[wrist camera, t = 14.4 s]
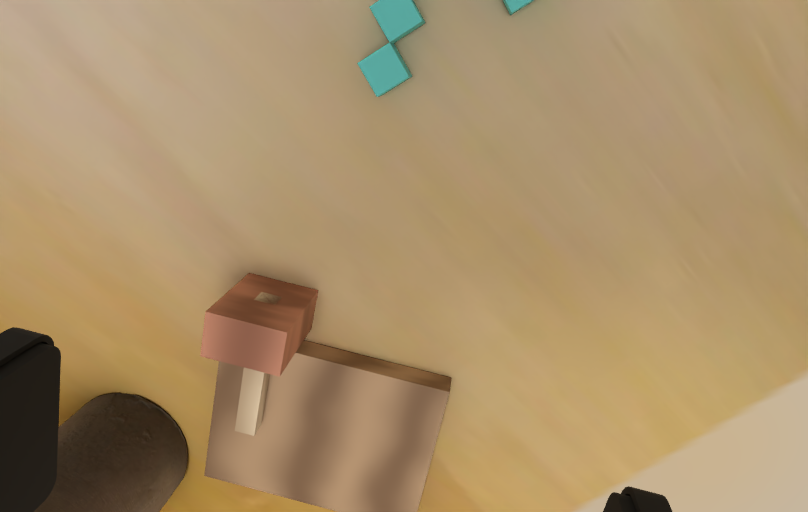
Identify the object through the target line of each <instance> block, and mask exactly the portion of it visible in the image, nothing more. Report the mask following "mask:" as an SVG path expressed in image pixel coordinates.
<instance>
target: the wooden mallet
mask: <svg viewBox="0 0 808 512" xmlns="http://www.w3.org/2000/svg"><path fill="white" fill-rule="evenodd" d="M317 294H318V290H315V289H311V288H307V287H303V286H299V285H295V284H291V283H287V282H283V281H279V280H275V279H271V278H267V277H263V276H259V275H255V274H251V273H249V274H247V275H246V276H245V277H244V278H243V279H242V280H241V281H240V282H238V283H237V284H236V285H235V286H234V287H233V288H232V289H231V290H229V291H228V292H227V293H226V294H225V295H224V296H223V297H222V298H220V299H219V300H218V301H217V302H216V303H215V304H214V305H213V306H211V307H210V308H209V309H208V310H207V311H206V313H205V321H204V330H203V338H202V347H201V355H200V356H202V357H206V358H210V359H214V360H217V361H221V362H225V363H229V364H233V365H237V366H240V367H244V371H243V378H242V384H241V391H240V398H239V405H238V412H237V419H236V426H235V431H237V432H241V433H245V434H249V435H252V436H255V434H256V432H257V431H258V429H259V427H260V426H261V423H262V417H263V411H264V405H265V399H266V392H267V386H268V380H269V374H271V375H275V376H279V377H280V376H281V374H282V373H283V371H284V369H285V368H286V366H287V365H288V363H289V362H290V360H291V359H292V357H293V356H294V354H295V353H296V351H297V350H298V348H299V347H300V345H301V344H302V342H303V341H304V339H305V337H306V336H307V334H308V333H309V331H310V330H311V327H312V322H313V316H314V311H315V305H316V300H317Z"/></svg>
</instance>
